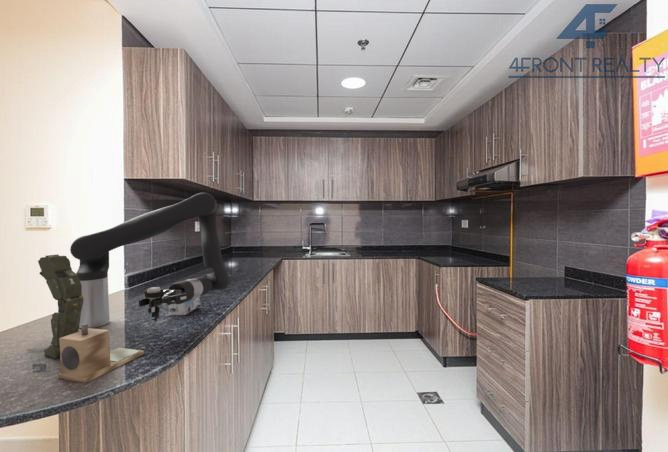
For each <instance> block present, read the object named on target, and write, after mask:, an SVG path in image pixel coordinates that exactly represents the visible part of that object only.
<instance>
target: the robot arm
mask: <svg viewBox="0 0 668 452" xmlns="http://www.w3.org/2000/svg"><path fill="white" fill-rule="evenodd" d="M217 206H218V203H217V201H216V199H215V197H214V196H213V195H212V194H210V193H208V192H204V191H203V192H199V193H195V194H194V195H192V196H191V197H188V198H186V199H184V200H181V201H180V202H177V203H175V204H171V205H168V206H164V207H161V208H158V209H156V210H151V211H149V212H148V211H147V212H146V213H143V214H140V215H138V216H135V217H133V218H130V219H129V220H125V221H123V222H122V223H119V224H117V225H114V226H113V227H111V228H107V229H105V230H102V231H98V232H95V233H91V234H87V235H86V234H85V235H82V236H79V237H78V238H76V239H75V240H74V241H73V242H72V243H71V246H70V248H69V250H70V254H71V256H72V257H73V258H74V259H77V260H79V266H78V268H77V271H76V272H75V273H76V274H77V275H78V277H79V280H80V282H81V285H82V296H83V298H84V299H83V306H82V310H81V317H80V324H79V329H82V327H81V325H83V324H88V328H92V329H95V328H99V327H102V326H105V325H107V324H109V323H110V319H111V317H110V298H109V274H108V272H109V269H110V252H111V251H112V250H115V249H118V248H120V247H122V246H123V247H124V246H126V245H130V244H131V245H132V244H134V243H135V244H136V243H138V242H139V243H140V242H141V241H146V240H148V239H151V238H154V237H156V236H159V235H162V234H163V233H165V232H167V231H170V230H171V229H173V228H174V227H176V226H179V224H181V223H183V222H185V221H189V220H191V219H195V218H198V222H199V223H198V224H199V228H200V239H201V240H200V241H201V244H200V245H201V253H202V260H203V265H204V267H206V268H209V269H212V270H213V272H210V273H207V274H203V275H202V276H198V277H194V278H188V279H184V280H181V281H175V282H173V283H172V284H171V285H170V286H169V288H167V289H162V290H163V291H164V292H163V295H162V296H160V298H156V299H152V300H151V299H148V298H146V297H142V298H140V299H139V300H138V306H139V307H145V306H148V308H150V307H151V308H152V307H155V306H158V307H159V306H161V305H162V306H164V305H167V306H169V305H170V304H182V303H185V302H188V301H190V300H193V299H195V298H196V299H197V298H199V297H201V296H205V295H207V294H209V292H211V291H219V290H226V289H227V288H228V286H229V285H230V281H231V280H230V279H231V278H230V276H229V273H228V271H227V268H226V265H225V264H224V261H223V258H222V251H221V245H220V240H219V234H218V229H217Z"/></svg>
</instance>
